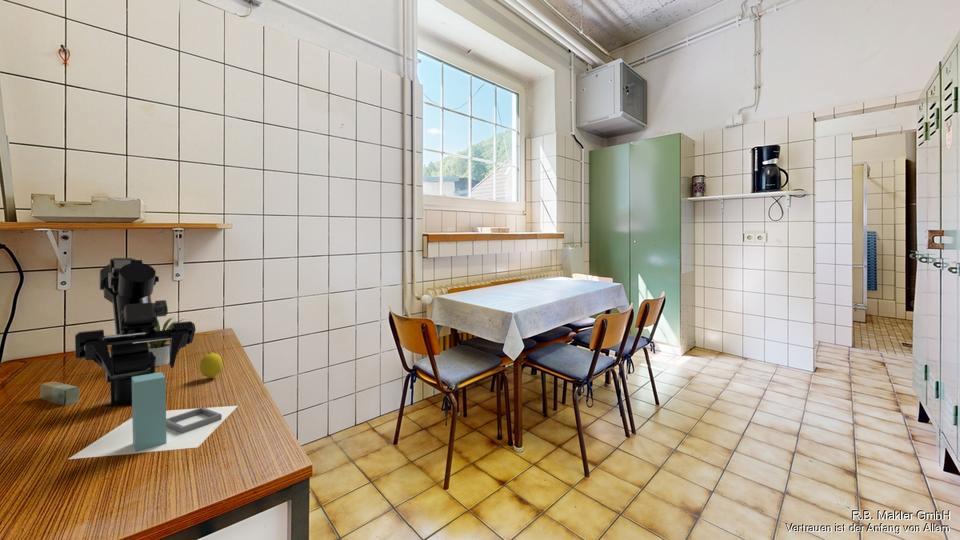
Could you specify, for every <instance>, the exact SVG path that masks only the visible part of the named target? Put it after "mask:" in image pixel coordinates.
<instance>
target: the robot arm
mask: <svg viewBox="0 0 960 540" xmlns="http://www.w3.org/2000/svg"><path fill="white" fill-rule="evenodd" d="M156 273H157V272H156V269H154V267H152V266H151V265H149V264H146V263H143V260H142V259H135V258H132V257H127V258H126V257H119V258H118V257H113V258H109V264H107V265H105V266H104V267H102V268H101V269H100V270H99V279H98V281H99V282H98V284H99V290H100V291H102V292H103V298H104V299H105V300H107V301H109V303H111V304H112V313H113V320H114V330H115V334H109V335H105V332H104V329H95V330H94V329H93V330H86V331H85V330H84V331H78V332H77V333H76V334H75V335H74V342H75V343H74V344H75V345H74V349H75V350H74V351H75V352H74V353H75V355H74V356H75V358H76V359H85V361H93V362H94V363H96V364H97V365H98V366H100V367H101V368H102V370H103V371H104V372H105V380H106V381H105V382H106V383H110V401H109V402H107V403H106V404H105V405H106V407H117V406H127V405H128V406H129V405H131V406H132V377H135V376H140V375H146V374H152V373H156V367H155V362H156V356H154V355H153V352H152V351H150V352H149V347H148V346H149V343H148V342H149V341H157V340H167V339H169V343H170V347H169V351H170V360H169V366H170V369H174V366H175V364H176V359H177V356H178V353H179V352H180V350H181V349H183V348H186V346H187V345H190V344H192V343H193V340H194V338H195V337H194V336H195V333H196V324H195V323H193V322H192V321H180V322H178V321H177V322H176V321H175V323H172V322H171V323H172V325H171V330H166V329H165V330H162V329H161V330H160V331H156V328H155V327H157V326H158V322H157V319H158V317H167V315H168V312H169V310H168V302H167V300H166V299H165V300H155V302H152V298H151V297H152V294H153V292H154V287H155V286H156V284H157V282H158V283H159V282H160V280H159V279H160V277H159V276H157V275H156ZM109 346H110V348H109Z"/></svg>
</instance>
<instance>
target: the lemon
mask: <svg viewBox="0 0 960 540" xmlns="http://www.w3.org/2000/svg"><path fill="white" fill-rule="evenodd" d="M223 364H224V363H223V360H222V357H221V355H219V354H218V353H215V352H213V351H211V352H209V353H207V354H205V355H204V356H203V357H202V358H201V360H200V361H199V371H200V373H201V375H203V376H204V377H206V378H209V379H210V378H212V379H213V378H215V377H216V376H218V375H220V373H221V371H222V370H223Z"/></svg>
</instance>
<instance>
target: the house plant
mask: <svg viewBox="0 0 960 540" xmlns="http://www.w3.org/2000/svg"><path fill="white" fill-rule="evenodd" d="M173 318H175V316H173V317H169V318H168V319H167V320H166V321H165V322H164V324H163V326H162V329H161V326H160V322H159V319H158V318H157V322H158V326H157V327H155V328H156V331H162V330H171V325H172V323H176V322H183V321H184V320H186V318H182V319H180V320H178V321H176V320H174V321H172V320H173ZM171 321H172V322H171ZM170 322H171V323H170ZM169 323H170V325H169ZM168 325H169V326H168ZM168 340H169V341H170V339H166V340H157V341H149V342H147V343H148V347H149V352H150V351H152V352H153V355H154V356H156V362H155V368H156V367H162V366H166V365H168V364H169V365H170V351H169V347H170V342H167V341H168Z"/></svg>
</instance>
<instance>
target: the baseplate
mask: <svg viewBox="0 0 960 540" xmlns="http://www.w3.org/2000/svg"><path fill="white" fill-rule="evenodd" d="M205 408H206V409H209V410H212V411H214V412H217V413H220V414H222V420H219V421H216V422H213V423H210V424H208V425H205V426H202V427H199V428H197V429H194V430H191V431H188V432H185V433H183V434H181V433H179V432H177V431H174V430H172V429H170V428H168V427H166V439H167V443H166V444H162V445H159V446H155V447H152V448H148V449H145V450H141V451H137V452H136V451H135V448H134V445H133V422H132V417H130V418H129V419H127V420H126V421H125V422H123V423H122V424H120V425H118V426H116V427H115V428H114V429H112V430H110V431H109V432H108V433H106V434H104V435H103V436H101V437H100V438H98V439H96V440H95V441H93V442H92V443H91V444H89V445H87V446H86V447H84V448H83V449H81V450H80V451H78V452H77V453H76V454H74V455H72V456H70V457H69V458H67V460H76V459H87V458H98V457H99V458H101V457H108V456H110V457H111V456H121V455H132V454H133V455H135V454H141V453H143V454H144V453H154V452H164V451H166V452H167V451H176V450H184V449H185V450H187V449H196V448H197V449H198V448H199V447H200V446H201V444H203V443H204V442H205V441H206V440H207V438H208V437H209V436H211V434H212V433H213V432H214V431H215V430H216V429H217V428H218V427H219V426H221V424H222V423H223V422H224V421H225V420H226V419H227V418H228V417H229V416H230V415H232V413H233V412H234V410H236V409H237V408H238V405H230V406H213V407H205ZM195 409H199V407H198V408H186V409H185V408H184V409H183V408H182V409H170V410H166V419H167V418H170V417H174V416H177V415H180V414H183V413H186V412H189V411H192V410H195ZM206 418H209V417H208V416H206V415H203V414H199V415H196V416H193V417H190V418H187V419H184V420H181V421H178V422H175V423H177V424H179V425H182V426H186V425H188V424H191V423H194V422H197V421H200V420H203V419H206Z"/></svg>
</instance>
